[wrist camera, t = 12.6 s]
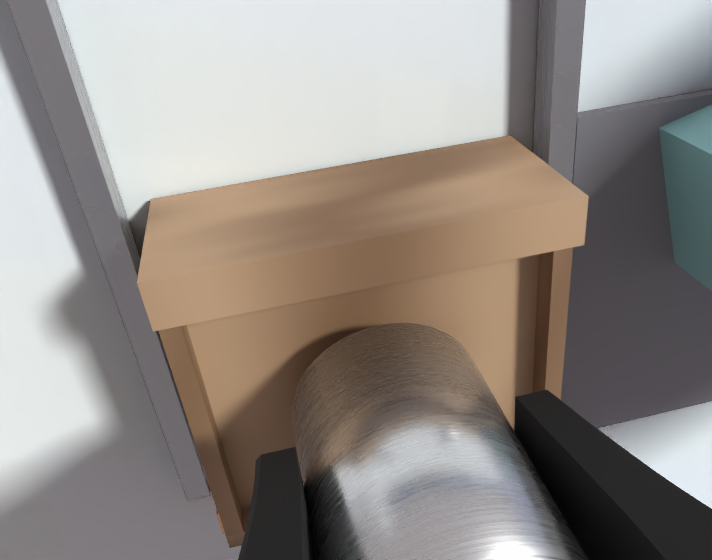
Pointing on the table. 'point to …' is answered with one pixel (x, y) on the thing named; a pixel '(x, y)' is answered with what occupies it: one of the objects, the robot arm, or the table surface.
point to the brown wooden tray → (354, 285)
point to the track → (107, 214)
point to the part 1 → (416, 456)
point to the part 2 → (690, 191)
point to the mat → (632, 275)
